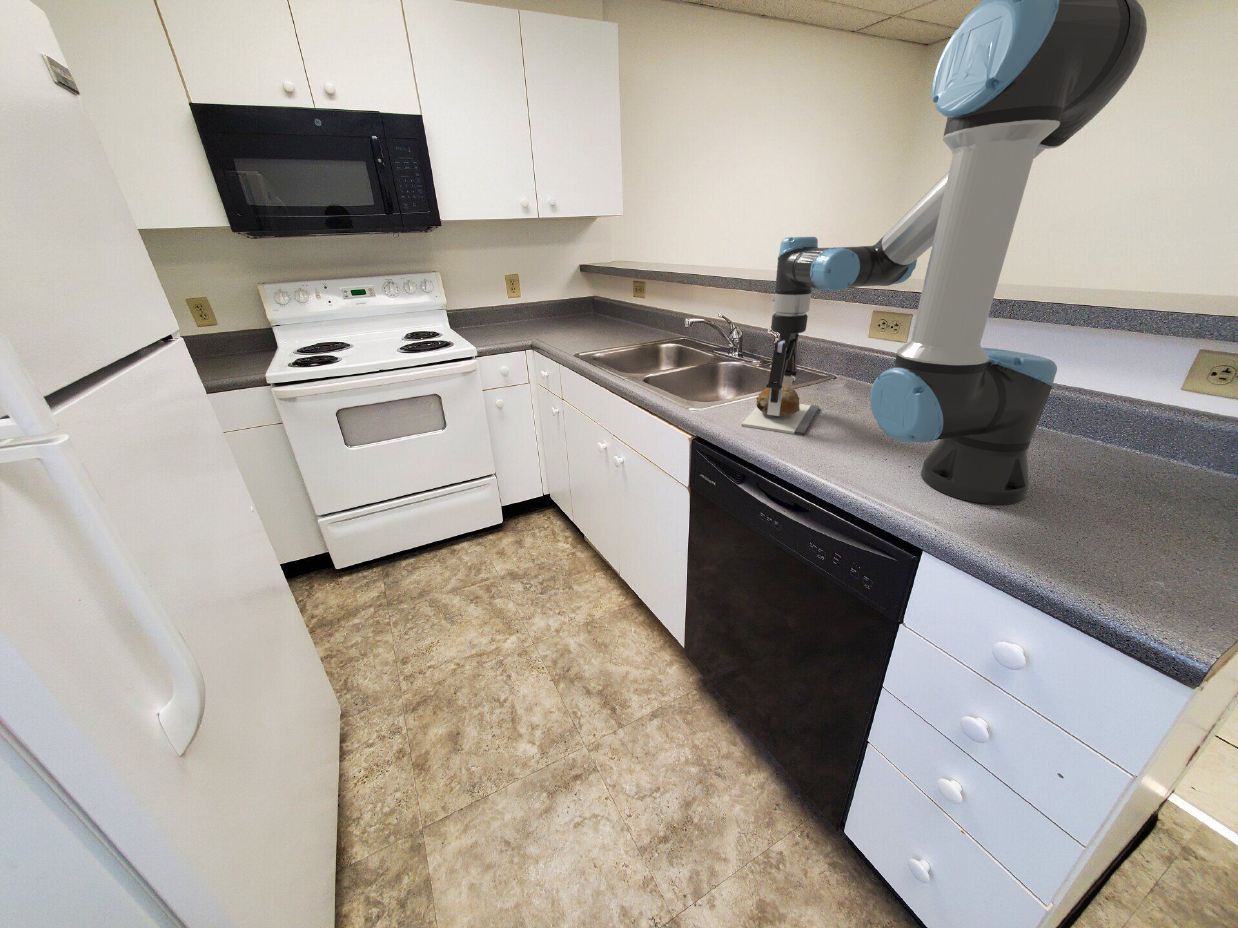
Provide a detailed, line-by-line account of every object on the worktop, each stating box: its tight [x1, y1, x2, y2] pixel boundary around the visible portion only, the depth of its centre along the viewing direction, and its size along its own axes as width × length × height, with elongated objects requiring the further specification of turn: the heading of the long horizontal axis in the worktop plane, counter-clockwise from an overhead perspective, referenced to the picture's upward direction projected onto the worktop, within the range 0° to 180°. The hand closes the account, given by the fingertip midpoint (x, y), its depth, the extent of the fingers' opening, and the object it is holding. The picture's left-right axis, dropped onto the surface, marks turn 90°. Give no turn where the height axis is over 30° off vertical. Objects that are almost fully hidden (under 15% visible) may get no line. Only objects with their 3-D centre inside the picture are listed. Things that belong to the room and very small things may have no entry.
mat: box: [741, 403, 820, 437], centre depth 116 cm, size 20×14×1 cm
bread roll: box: [756, 384, 801, 416], centre depth 115 cm, size 10×10×8 cm
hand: (778, 407), depth 116 cm, fingers closed on bread roll, 10 cm apart
